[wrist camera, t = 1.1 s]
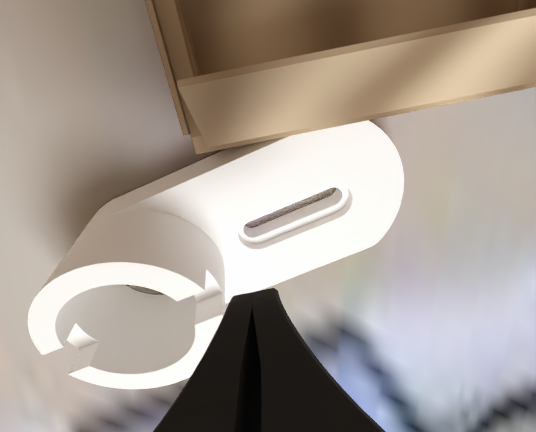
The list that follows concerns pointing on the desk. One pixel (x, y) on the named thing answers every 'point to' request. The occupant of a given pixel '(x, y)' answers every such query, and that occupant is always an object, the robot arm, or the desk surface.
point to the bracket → (210, 249)
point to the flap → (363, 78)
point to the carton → (294, 38)
